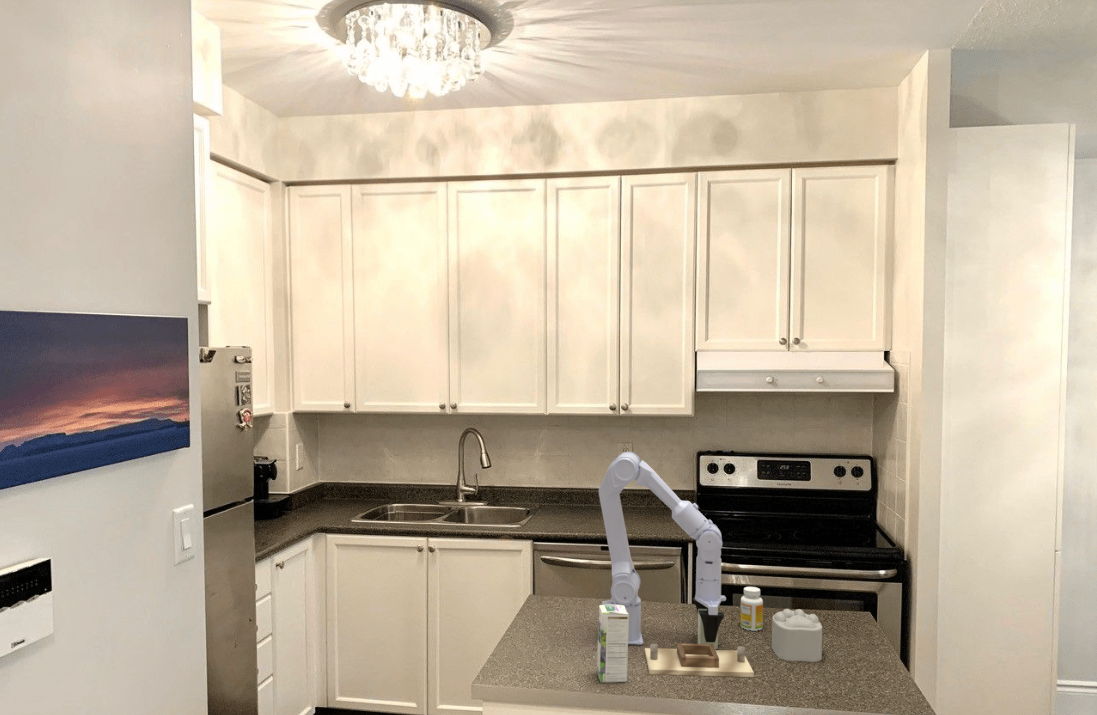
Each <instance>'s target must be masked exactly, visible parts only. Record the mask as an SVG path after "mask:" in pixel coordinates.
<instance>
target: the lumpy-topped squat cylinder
mask: <svg viewBox="0 0 1097 715" xmlns="http://www.w3.org/2000/svg"><path fill="white" fill-rule="evenodd" d="M819 620H820V619H819V617H818V616H817V615H816V614H815V613H810V614H807V613H805V612H804V610H802V609H800V608H799V609H795V610H791V609H789V608H784V609H783V610H781V611H778V612H776V613H775V614H773V615H772V618H771V649H772V651H773V652H775V653H774V654H775V656H777V657H778V658H779V659H781V660H784V661H788V662H808V663H809V662H810V663H817V662H820V661H821V660H822V659H823V658H822V657H823V653H822V652H823V625H822V624H821V622H820V621H819Z"/></svg>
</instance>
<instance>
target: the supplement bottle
mask: <svg viewBox="0 0 1097 715" xmlns="http://www.w3.org/2000/svg"><path fill="white" fill-rule="evenodd" d="M760 596H761V589H760V588H758V587H756V586H746V587H744V588H743V595H742V596H741V598H740V627H741V629H743V628H744V629H743V630H745V629H746V631H749V630H751V631H750V632H759V631H761V630H763V625H764V623H763V621H764V619H763V616H764V601H763V598H762V597H760ZM758 630H759V631H758Z"/></svg>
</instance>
